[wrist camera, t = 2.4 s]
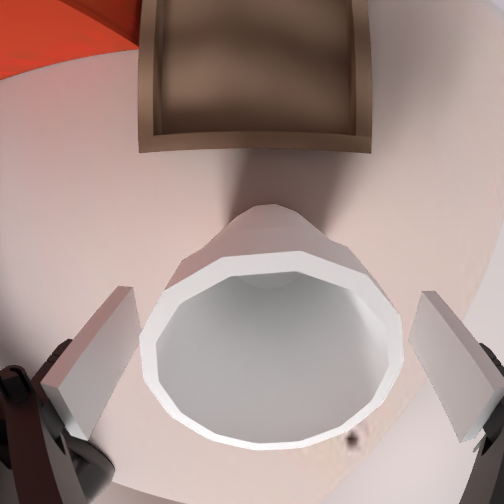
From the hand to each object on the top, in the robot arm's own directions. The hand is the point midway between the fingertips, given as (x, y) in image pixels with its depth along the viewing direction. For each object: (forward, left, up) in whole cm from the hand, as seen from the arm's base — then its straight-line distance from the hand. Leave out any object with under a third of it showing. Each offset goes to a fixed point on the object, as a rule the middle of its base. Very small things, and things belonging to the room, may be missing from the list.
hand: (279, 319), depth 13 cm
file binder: (+19, +17, -10) cm, 28 cm away
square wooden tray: (+14, +1, -9) cm, 17 cm away
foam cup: (0, 0, -10) cm, 10 cm away
